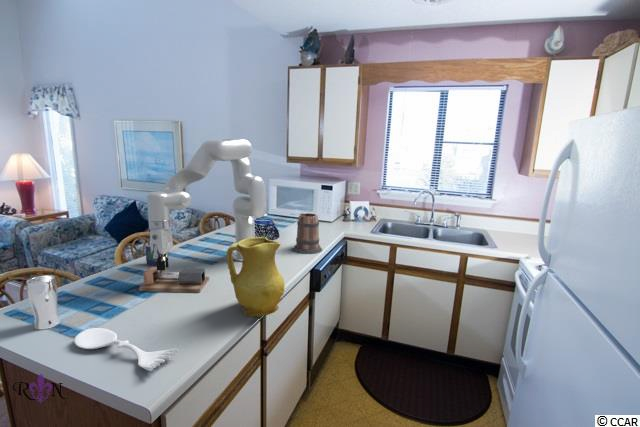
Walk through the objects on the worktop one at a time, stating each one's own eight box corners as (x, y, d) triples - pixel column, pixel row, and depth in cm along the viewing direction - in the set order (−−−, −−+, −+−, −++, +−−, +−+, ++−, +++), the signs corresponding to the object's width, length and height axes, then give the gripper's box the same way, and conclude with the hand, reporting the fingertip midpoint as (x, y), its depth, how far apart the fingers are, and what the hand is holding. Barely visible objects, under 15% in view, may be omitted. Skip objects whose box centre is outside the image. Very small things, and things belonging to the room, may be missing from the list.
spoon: (152, 380, 79) (151, 368, 79) (66, 347, 91) (65, 336, 90) (180, 359, 88) (179, 347, 87) (99, 331, 99) (97, 320, 98)
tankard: (316, 256, 173) (317, 219, 169) (287, 251, 178) (288, 216, 174) (329, 244, 195) (330, 211, 191) (303, 240, 200) (304, 208, 196)
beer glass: (43, 318, 104) (37, 274, 101) (66, 318, 105) (61, 274, 102) (26, 331, 97) (18, 284, 94) (51, 330, 98) (44, 284, 95)
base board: (209, 279, 138) (208, 276, 138) (200, 292, 126) (199, 288, 126) (153, 279, 137) (153, 275, 137) (139, 291, 125) (138, 287, 125)
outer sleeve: (205, 279, 134) (204, 268, 133) (201, 284, 129) (200, 273, 128) (184, 279, 134) (183, 268, 133) (179, 284, 129) (178, 272, 128)
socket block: (158, 279, 133) (158, 267, 132) (153, 284, 129) (152, 272, 128) (150, 279, 133) (149, 267, 132) (144, 284, 128) (143, 272, 127)
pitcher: (262, 325, 104) (260, 249, 100) (222, 311, 114) (219, 241, 110) (294, 305, 118) (294, 238, 115) (256, 294, 128) (254, 232, 125)
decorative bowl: (285, 236, 209) (286, 214, 206) (264, 243, 193) (264, 219, 190) (262, 231, 220) (262, 210, 217) (240, 237, 203) (240, 214, 200)
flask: (165, 264, 153) (163, 242, 151) (160, 266, 151) (159, 244, 149) (149, 262, 156) (147, 240, 154) (144, 264, 153) (142, 242, 151)
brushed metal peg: (191, 278, 133) (190, 256, 131) (189, 281, 130) (187, 258, 128) (154, 277, 132) (153, 255, 130) (151, 280, 129) (149, 258, 127)
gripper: (160, 229, 119) (164, 276, 122) (177, 219, 134) (179, 262, 138) (139, 228, 118) (143, 276, 122) (158, 219, 134) (161, 261, 138)
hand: (162, 268), depth 130 cm, fingers closed on brushed metal peg, 2 cm apart
